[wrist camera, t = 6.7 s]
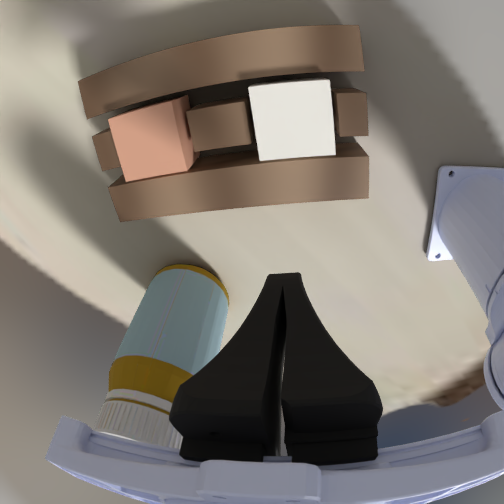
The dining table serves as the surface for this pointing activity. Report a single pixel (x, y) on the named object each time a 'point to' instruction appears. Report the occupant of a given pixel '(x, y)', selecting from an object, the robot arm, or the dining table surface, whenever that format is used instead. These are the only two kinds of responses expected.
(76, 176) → the dining table surface
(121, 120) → the terracotta key
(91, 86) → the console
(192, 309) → the bottle
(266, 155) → the cream key
